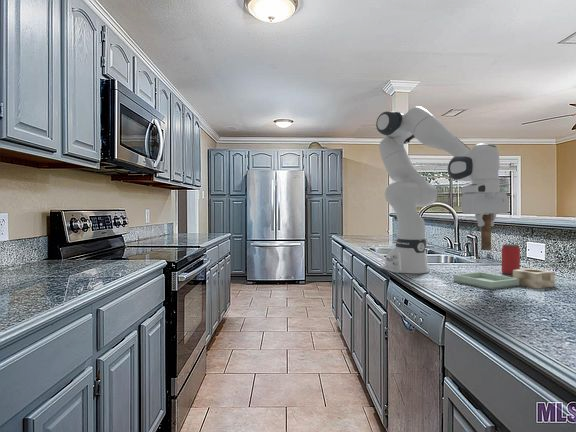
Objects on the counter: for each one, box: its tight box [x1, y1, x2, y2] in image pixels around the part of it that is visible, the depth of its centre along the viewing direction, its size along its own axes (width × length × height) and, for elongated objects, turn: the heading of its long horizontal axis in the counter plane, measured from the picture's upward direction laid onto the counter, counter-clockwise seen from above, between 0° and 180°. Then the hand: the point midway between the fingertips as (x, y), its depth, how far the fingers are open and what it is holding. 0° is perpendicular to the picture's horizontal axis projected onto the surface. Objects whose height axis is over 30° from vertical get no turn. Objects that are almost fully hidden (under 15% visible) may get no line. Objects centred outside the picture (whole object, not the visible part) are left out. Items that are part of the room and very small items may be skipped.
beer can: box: [501, 243, 521, 276], centre depth 158 cm, size 7×7×12 cm
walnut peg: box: [480, 213, 492, 251], centre depth 138 cm, size 3×3×13 cm
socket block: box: [512, 267, 556, 289], centre depth 135 cm, size 9×9×5 cm
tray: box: [453, 271, 520, 290], centre depth 138 cm, size 16×14×2 cm
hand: (485, 226), depth 138 cm, fingers closed on walnut peg, 3 cm apart
